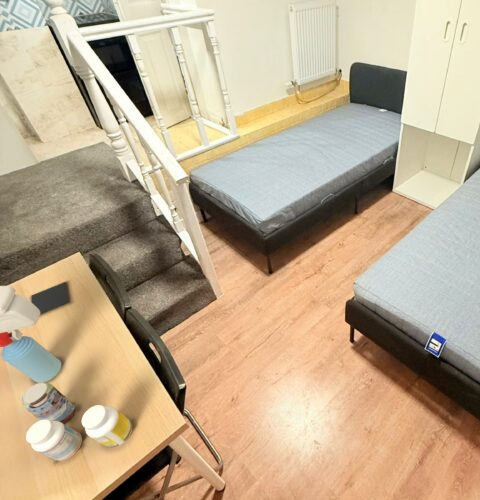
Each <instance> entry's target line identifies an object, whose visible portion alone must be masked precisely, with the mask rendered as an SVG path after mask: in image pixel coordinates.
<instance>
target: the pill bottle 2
mask: <svg viewBox="0 0 480 500" xmlns="http://www.w3.org/2000/svg"><path fill="white" fill-rule="evenodd" d="M81 424H82V426H83V428H84V430H85V431H84V432H85V433H86V435H87V436H88V437H89V438H91V439H93V440H94V441H96V442H98V443H99V444H102V445H103V446H104V447H107V448H111V449H113V448H117V447H119V446H121V445H123V444H125V442H127V440H128V439H129V437H130V436H131V433H132V430H133V423H132V422H131V420H130V419H129V418H128V417H126V416H125V415H124V414H122V413H121V412H120V411H119V410H117V409H116V408H115V407H113V406H110V405H109V406H108V405H106V406H103V405H101V404H95V405H93V406H91V407H89V408H88V409H87V410H86V411H85V412H84V414H83V415H82V418H81Z"/></svg>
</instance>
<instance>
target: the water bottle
mask: <svg viewBox="0 0 480 500" xmlns="http://www.w3.org/2000/svg"><path fill="white" fill-rule="evenodd" d="M0 354H1V355H0V356H1V358H2V360H3V361H4V362H6V363H8V364H9V365H10V366H12V367H13V368H15V370H17V371H19V372H20V373H22V374H23V375H24V376H26V377H28V378H29V379H31V380H32V381H34V382H35V383H37V384H38V383H46V382H48V381H50V380H52V379H53V378H55V377H56V376H57V375H58V373H59V372H60V371H61V369H62V361H61V360H60V359H59V358H58V357H56V356H55V355H54V354H52V352H50V351H49V350H48V349H46V347H44V346H43V345H42V344H40V343H39V342H38V341H37V340H36V339H34V337H32V336H28V335H22V338H21V339H20V340H15V341H13V342H12V343H11V344H9V345H7V346H5V347H2V350H1V353H0Z"/></svg>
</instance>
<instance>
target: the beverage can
mask: <svg viewBox="0 0 480 500" xmlns="http://www.w3.org/2000/svg"><path fill="white" fill-rule="evenodd" d="M21 401H22V407H23V408H24V409H25V410H26V411H28V412H29V413H31V414H32V415H33V416H34V417H36V418H37V419H38V421H40V420H43V419H46V420H49V421H59V422H61V423H63V424H65V425H67V424H68V423H69V422H70V421H71V420H72V419H73V417H74V415H76V412H77V411H76V409H77V408H76V406H75V405H74V404H73V403H72V402H71V401H70V400H69V399H68V398H67V397H66V396H65V395H64V394H63V393H62V392H61V391H60V390H58V388H56V387H55V386H54V385H53V384H51V383H46V382H43V383H38V382H37V383H35V384H33V385H32V386H31V387H29V388H28V389H27V390H26V391H25V392H24V393H23V395H22V397H21Z"/></svg>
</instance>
